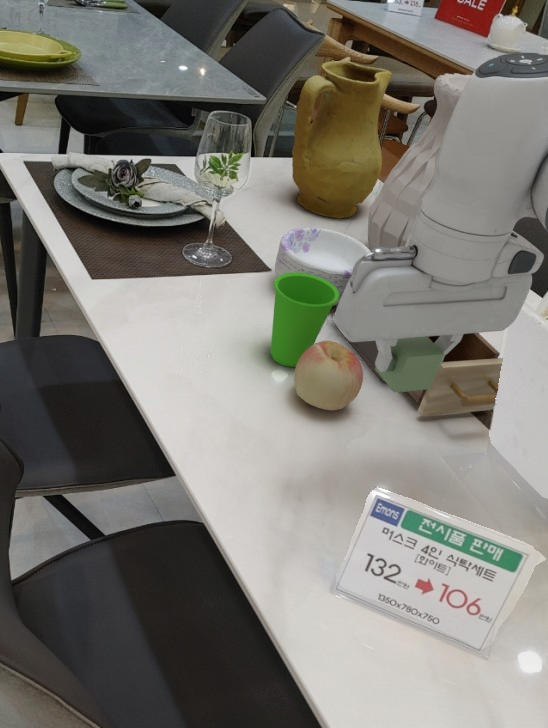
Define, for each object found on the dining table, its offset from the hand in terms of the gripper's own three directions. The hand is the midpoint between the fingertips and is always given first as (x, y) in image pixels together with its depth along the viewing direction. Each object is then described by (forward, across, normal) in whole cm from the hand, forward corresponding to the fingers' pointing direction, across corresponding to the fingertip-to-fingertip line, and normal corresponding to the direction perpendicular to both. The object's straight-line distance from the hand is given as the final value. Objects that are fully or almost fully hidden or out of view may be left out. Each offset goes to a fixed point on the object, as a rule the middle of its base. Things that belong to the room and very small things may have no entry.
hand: (407, 366), depth 83 cm
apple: (+16, +1, +15) cm, 21 cm away
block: (+2, 0, 0) cm, 2 cm away
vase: (+16, +37, +51) cm, 65 cm away
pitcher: (+16, +32, +78) cm, 86 cm away
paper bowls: (+16, +14, +44) cm, 48 cm away
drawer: (+15, +19, +14) cm, 27 cm away
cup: (+16, +1, +26) cm, 30 cm away
